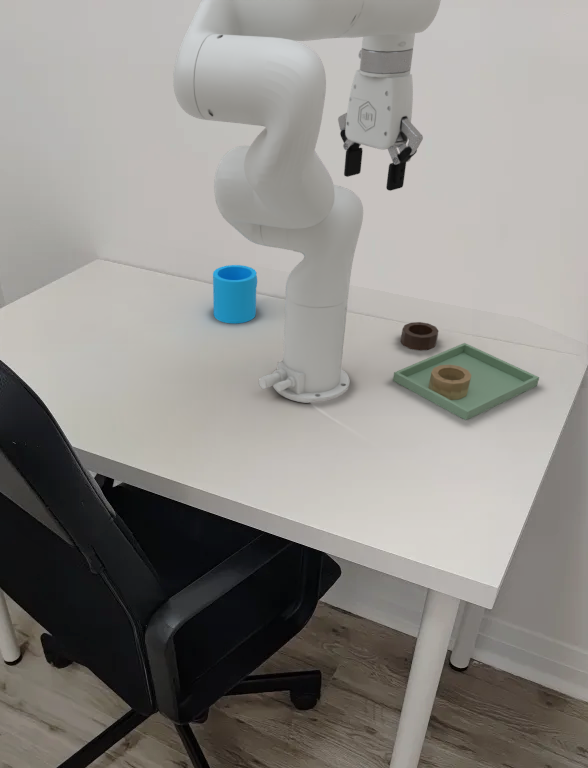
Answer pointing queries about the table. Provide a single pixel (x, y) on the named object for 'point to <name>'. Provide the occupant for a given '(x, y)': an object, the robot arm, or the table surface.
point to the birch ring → (450, 381)
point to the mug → (234, 293)
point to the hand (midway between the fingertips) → (372, 181)
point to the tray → (487, 383)
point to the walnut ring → (419, 336)
